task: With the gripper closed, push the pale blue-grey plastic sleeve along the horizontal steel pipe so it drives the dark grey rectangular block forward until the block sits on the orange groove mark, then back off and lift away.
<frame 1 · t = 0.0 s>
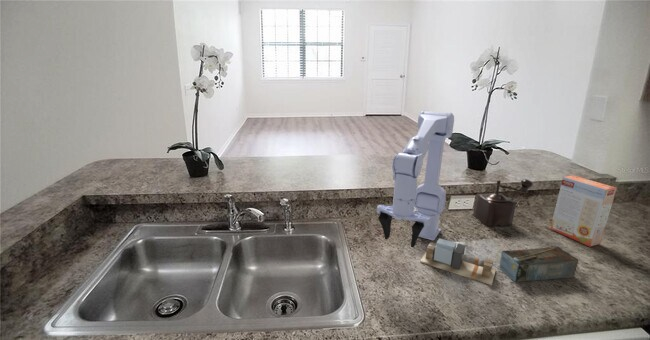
hand: (399, 241, 94), 10 cm above the worktop, tool pointing down, fingers open, 7 cm apart
sleeve: (445, 250, 101), point 4 cm above the worktop, slide at -4.0 cm
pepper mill: (498, 220, 131), on the worktop
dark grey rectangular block: (458, 256, 99), point 3 cm above the worktop, slide at 0.0 cm
beverage carton: (535, 273, 98), on the worktop
cracker box: (573, 237, 119), on the worktop
pipe stand: (457, 266, 100), on the worktop
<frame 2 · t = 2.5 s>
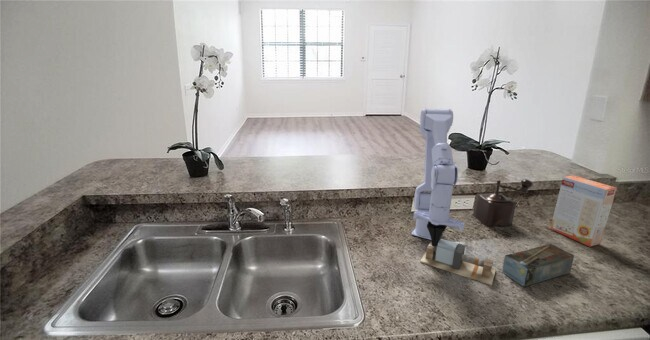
hand: (434, 244, 102), 5 cm above the worktop, tool pointing down, fingers closed
sleeve: (446, 251, 101), point 4 cm above the worktop, slide at -3.5 cm, touching gripper
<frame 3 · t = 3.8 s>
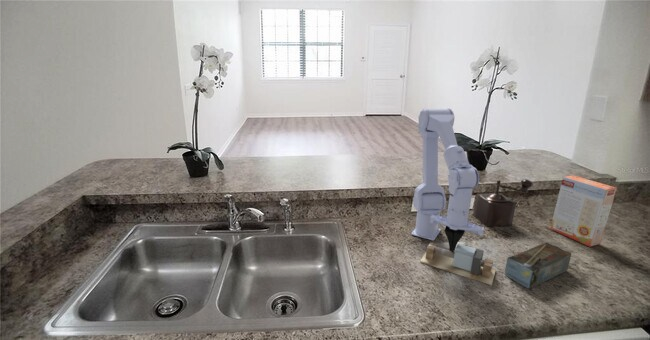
hand: (452, 249, 100), 5 cm above the worktop, tool pointing down, fingers closed
sleeve: (464, 256, 98), point 4 cm above the worktop, slide at 1.6 cm, touching gripper, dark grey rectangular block
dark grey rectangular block: (477, 261, 97), point 3 cm above the worktop, slide at 5.1 cm, touching sleeve
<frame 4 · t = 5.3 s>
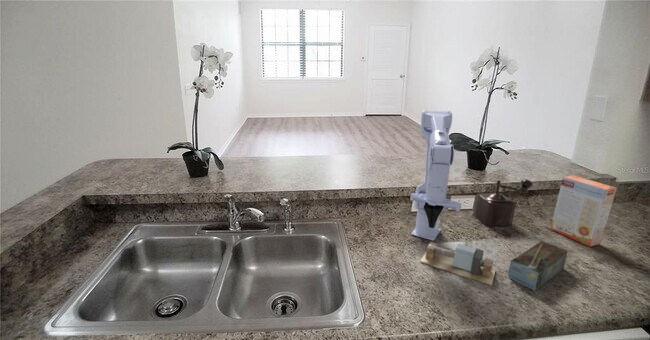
hand: (431, 226, 102), 10 cm above the worktop, tool pointing down, fingers closed
sleeve: (464, 256, 98), point 4 cm above the worktop, slide at 1.6 cm, touching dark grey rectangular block
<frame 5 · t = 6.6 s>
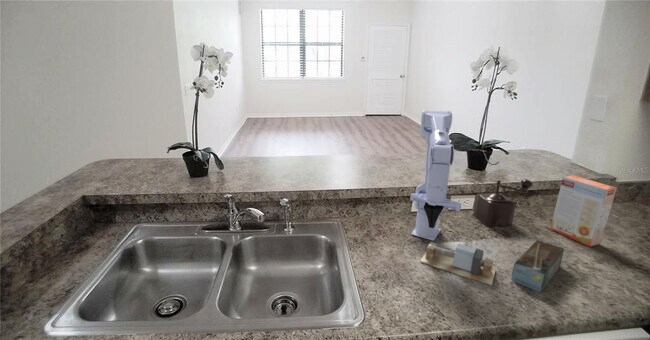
hand: (431, 226, 102), 10 cm above the worktop, tool pointing down, fingers closed
at the end: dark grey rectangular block slide at 5.1 cm; sleeve slide at 1.6 cm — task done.
